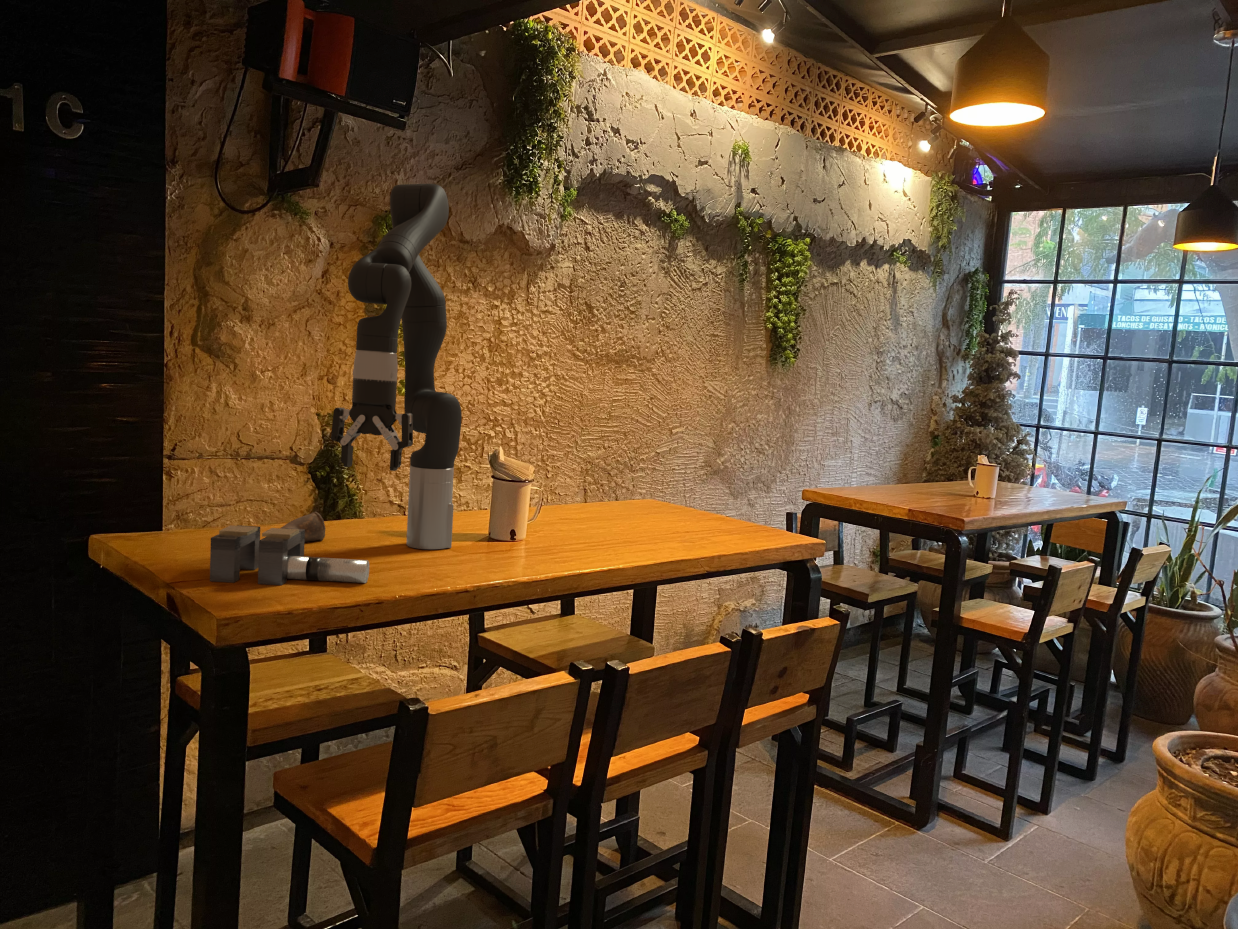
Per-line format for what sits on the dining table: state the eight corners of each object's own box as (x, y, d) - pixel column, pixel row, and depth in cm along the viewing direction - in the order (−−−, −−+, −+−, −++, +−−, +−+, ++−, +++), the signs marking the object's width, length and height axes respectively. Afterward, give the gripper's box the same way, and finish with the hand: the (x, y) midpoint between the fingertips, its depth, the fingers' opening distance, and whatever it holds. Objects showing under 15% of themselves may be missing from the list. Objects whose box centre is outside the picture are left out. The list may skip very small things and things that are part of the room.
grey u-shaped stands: (303, 569, 161) (305, 526, 160) (281, 585, 149) (283, 538, 149) (237, 565, 161) (238, 522, 160) (209, 581, 149) (210, 534, 148)
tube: (370, 572, 158) (368, 555, 155) (365, 587, 154) (363, 571, 152) (268, 566, 157) (264, 549, 154) (260, 581, 153) (257, 564, 151)
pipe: (275, 531, 171) (328, 523, 175) (271, 515, 186) (320, 508, 190) (280, 563, 172) (333, 554, 176) (276, 545, 187) (324, 537, 191)
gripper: (421, 380, 158) (416, 470, 160) (345, 374, 160) (341, 463, 161) (406, 380, 151) (401, 474, 152) (327, 374, 152) (323, 466, 154)
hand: (370, 468), depth 157 cm, fingers open, 8 cm apart
